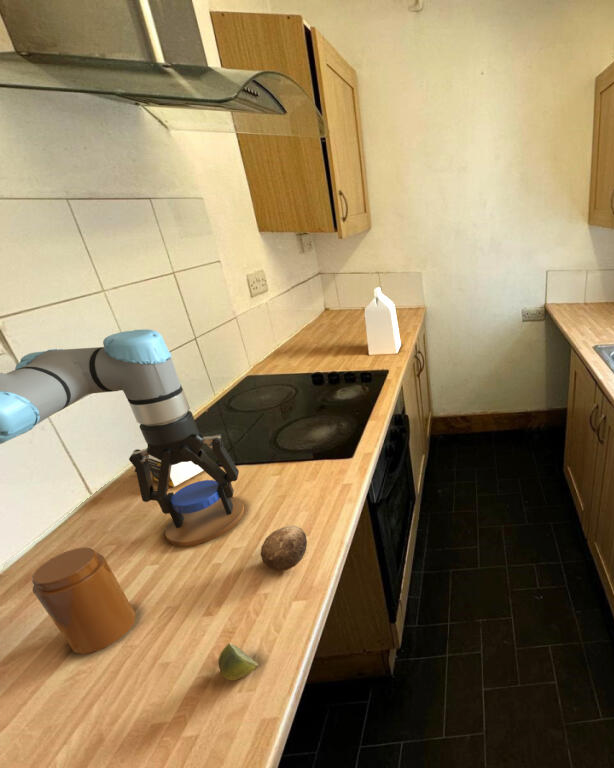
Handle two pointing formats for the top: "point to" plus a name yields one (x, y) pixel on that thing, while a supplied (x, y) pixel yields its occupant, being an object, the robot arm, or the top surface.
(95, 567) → the jar
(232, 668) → the lime
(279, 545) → the brown oval lump
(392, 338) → the milk
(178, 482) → the medicine bottle
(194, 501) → the lid
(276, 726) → the top surface
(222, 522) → the coaster
